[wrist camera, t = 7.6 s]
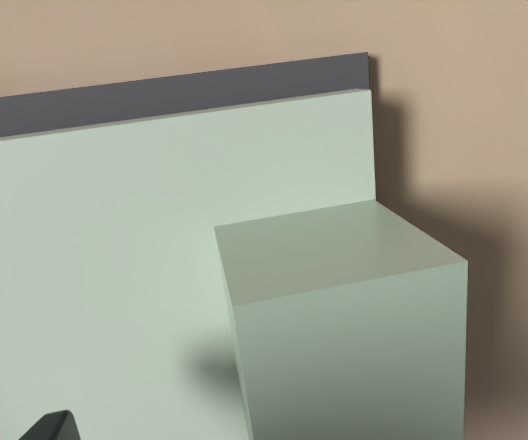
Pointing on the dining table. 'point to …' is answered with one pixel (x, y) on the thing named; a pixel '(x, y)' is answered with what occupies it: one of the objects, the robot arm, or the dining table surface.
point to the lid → (223, 282)
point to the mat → (180, 93)
